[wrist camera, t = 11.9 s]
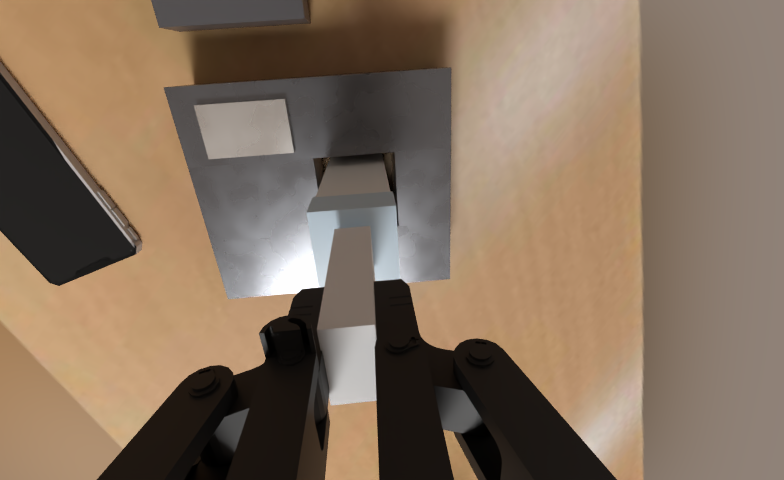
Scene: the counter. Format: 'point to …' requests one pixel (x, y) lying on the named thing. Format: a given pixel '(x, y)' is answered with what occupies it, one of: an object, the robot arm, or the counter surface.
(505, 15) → the counter surface
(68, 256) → the smartphone
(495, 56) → the counter surface
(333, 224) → the plug
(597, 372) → the counter surface
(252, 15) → the grey square ring
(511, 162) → the counter surface
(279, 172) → the panel
